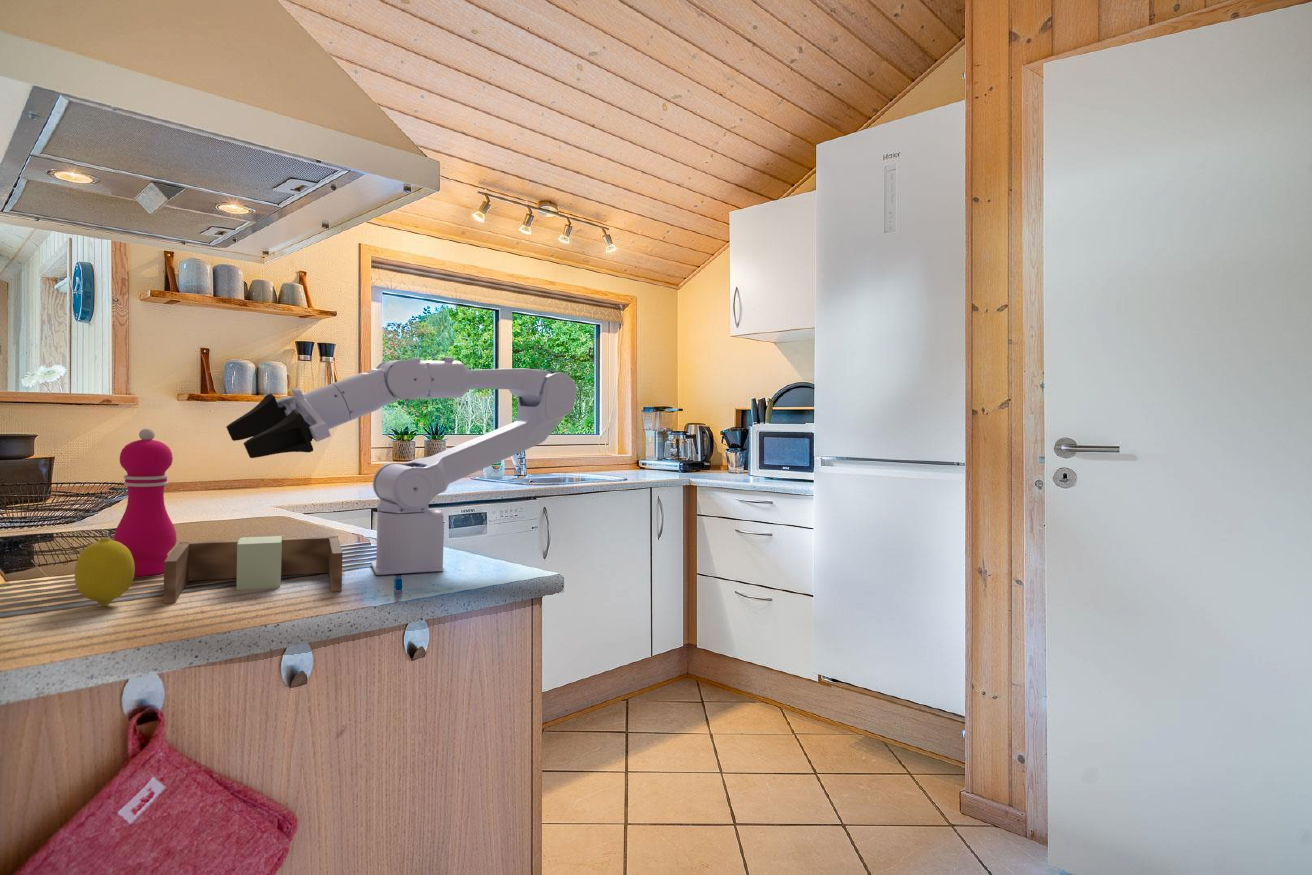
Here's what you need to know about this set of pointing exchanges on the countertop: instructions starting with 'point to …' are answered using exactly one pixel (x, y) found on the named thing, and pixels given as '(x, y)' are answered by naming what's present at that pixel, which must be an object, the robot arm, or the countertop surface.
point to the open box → (222, 562)
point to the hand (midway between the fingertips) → (238, 442)
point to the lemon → (104, 571)
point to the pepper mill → (146, 504)
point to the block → (259, 562)
